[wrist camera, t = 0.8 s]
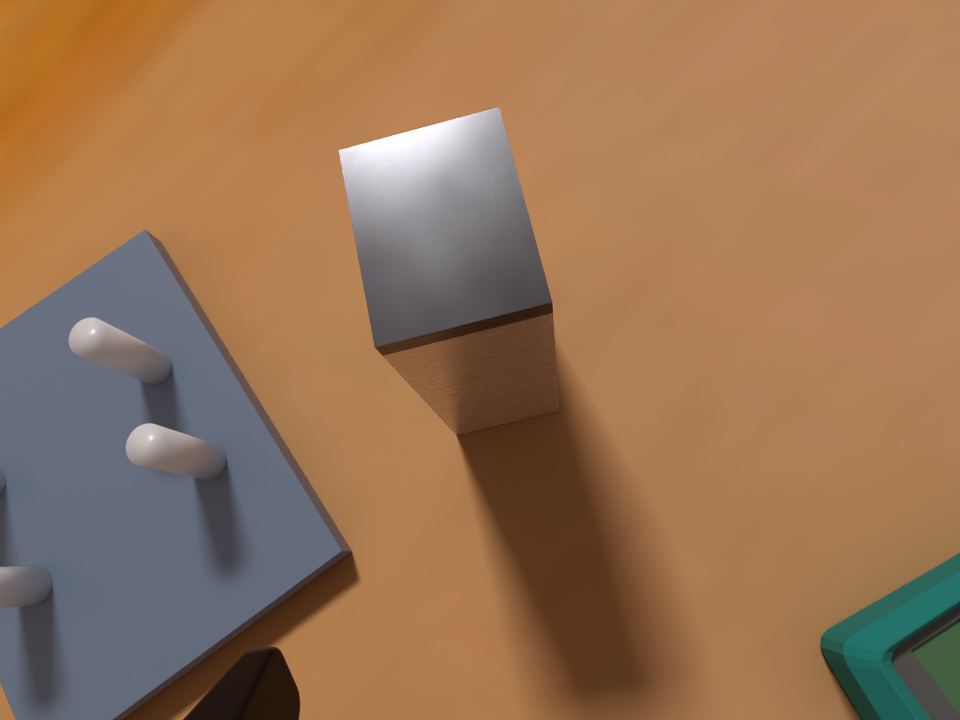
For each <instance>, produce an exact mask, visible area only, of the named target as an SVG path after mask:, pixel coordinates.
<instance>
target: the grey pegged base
mask: <svg viewBox="0 0 960 720" xmlns="http://www.w3.org/2000/svg"><path fill="white" fill-rule="evenodd" d="M350 552H351V549H350V548H349V546H348V545H347V543H346V541H345V540H344V538H343V536H342V535H341V533H340V532H339V530H338V528H337V527H336V525H335V523H334V522H333V520H332V519H331V517H330V515H329V514H328V512H327V510H326V509H325V507H324V506H323V504H322V502H321V501H320V499H319V498H318V496H317V494H316V493H315V491H314V489H313V488H312V486H311V485H310V483H309V481H308V480H307V478H306V476H305V475H304V473H303V472H302V470H301V468H300V467H299V465H298V463H297V462H296V460H295V459H294V457H293V455H292V454H291V452H290V451H289V449H288V447H287V446H286V444H285V442H284V441H283V439H282V438H281V436H280V434H279V433H278V431H277V429H276V428H275V426H274V425H273V423H272V421H271V420H270V418H269V416H268V415H267V413H266V412H265V410H264V408H263V407H262V405H261V404H260V402H259V400H258V399H257V397H256V395H255V394H254V392H253V391H252V389H251V387H250V386H249V384H248V382H247V381H246V379H245V378H244V376H243V374H242V373H241V371H240V369H239V368H238V366H237V365H236V363H235V361H234V360H233V358H232V357H231V355H230V353H229V352H228V350H227V348H226V347H225V345H224V344H223V342H222V340H221V339H220V337H219V335H218V334H217V332H216V331H215V329H214V327H213V326H212V324H211V322H210V321H209V319H208V318H207V316H206V314H205V313H204V311H203V310H202V308H201V306H200V305H199V303H198V301H197V300H196V298H195V297H194V295H193V293H192V292H191V290H190V288H189V287H188V285H187V284H186V282H185V280H184V279H183V277H182V275H181V274H180V272H179V271H178V269H177V267H176V266H175V264H174V263H173V261H172V259H171V258H170V256H169V254H168V253H167V251H166V250H165V248H164V246H163V245H162V243H161V241H159V240H158V239H157V238H155V237H154V236H153V235H152V234H150V233H149V232H148V231H146V230H144V231H142V232H141V233H139V234H138V235H136V236H135V237H133V238H132V239H131V240H129V241H128V242H126V243H125V244H123V245H122V246H120V247H119V248H117V249H116V250H114V251H113V252H111V253H110V254H109V255H107V256H106V257H104V258H103V259H101V260H100V261H98V262H97V263H95V264H94V265H92V266H91V267H90V268H88V269H87V270H85V271H84V272H82V273H81V274H79V275H78V276H76V277H75V278H73V279H72V280H70V281H69V282H68V283H66V284H65V285H63V286H62V287H60V288H59V289H57V290H56V291H54V292H53V293H51V294H50V295H49V296H47V297H46V298H44V299H43V300H41V301H40V302H38V303H37V304H35V305H34V306H32V307H31V308H30V309H28V310H27V311H25V312H24V313H22V314H21V315H19V316H18V317H16V318H15V319H13V320H12V321H10V322H9V323H8V324H6V325H5V326H3V327H2V328H0V682H1V685H2V687H3V690H4V692H5V695H6V697H7V700H8V702H9V704H10V707H11V709H12V712H13V714H14V717H15V719H16V720H123V719H124V718H126V717H127V716H128V715H130V714H131V713H132V712H134V711H135V710H137V709H138V708H139V707H141V706H142V705H143V704H145V703H146V702H147V701H149V700H150V699H151V698H153V697H154V696H156V695H157V694H158V693H160V692H161V691H162V690H164V689H165V688H166V687H168V686H169V685H171V684H172V683H173V682H175V681H176V680H177V679H179V678H180V677H181V676H183V675H184V674H185V673H187V672H188V671H190V670H191V669H192V668H194V667H195V666H196V665H198V664H199V663H200V662H202V661H203V660H204V659H206V658H207V657H209V656H210V655H211V654H213V653H214V652H215V651H217V650H218V649H219V648H221V647H222V646H223V645H225V644H226V643H228V642H229V641H230V640H232V639H233V638H234V637H236V636H237V635H238V634H240V633H241V632H243V631H244V630H245V629H247V628H248V627H249V626H251V625H252V624H253V623H255V622H256V621H257V620H259V619H260V618H262V617H263V616H264V615H266V614H267V613H268V612H270V611H271V610H272V609H274V608H275V607H276V606H278V605H279V604H281V603H282V602H283V601H285V600H286V599H287V598H289V597H290V596H291V595H293V594H294V593H295V592H297V591H298V590H300V589H301V588H302V587H304V586H305V585H306V584H308V583H309V582H310V581H312V580H313V579H314V578H316V577H317V576H319V575H320V574H321V573H323V572H324V571H325V570H327V569H328V568H329V567H331V566H332V565H334V564H335V563H336V562H338V561H339V560H340V559H342V558H343V557H344V556H346V555H347V554H348V553H350Z"/></svg>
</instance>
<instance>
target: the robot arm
mask: <svg viewBox="0 0 960 720" xmlns="http://www.w3.org/2000/svg"><path fill="white" fill-rule="evenodd" d="M299 713H300V697H299V692H298V688H297V686H296V683H295V681H294V679H293V677H292V674H291V672H290V670H289V668H288V665H287V663H286V661H285V658H284V656H283V654H282V652H281V651H280V650H279V649H278V648H277V647H267V648H261V649H255V650H250V651H247V652H246V653H244V654H243V655H242V656H241V657H240V658H239V659H238V660H237V661H236V662H235V664H234V665H233V666H232V667H231V668H230V669H229V670H228V671H227V672H226V673H225V674H224V676H223V677H222V678H221V679H220V680H219V681H218V682H217V683H216V684H215V685H214V686H213V688H212V689H211V690H210V691H209V692H208V693H207V694H206V695H205V696H204V697H203V698H202V700H201V701H200V702H199V703H198V704H197V705H196V706H195V707H194V708H193V709H192V710H191V712H190V713H189V714H188V715H187V716H186V717H185V718H184V719H183V720H299Z"/></svg>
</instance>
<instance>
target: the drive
mask: <svg viewBox="0 0 960 720" xmlns="http://www.w3.org/2000/svg"><path fill="white" fill-rule="evenodd" d="M339 154H340V160H341V165H342V171H343V176H344V182H345V187H346V193H347V198H348V204H349V209H350V215H351V220H352V225H353V231H354V236H355V242H356V247H357V253H358V258H359V264H360V269H361V275H362V280H363V286H364V291H365V296H366V302H367V307H368V313H369V318H370V324H371V329H372V335H373V340H374V346H375V348H376V349H377V350H378V351H379V352H380V353H381V354H382V356H383V357H384V358H385V359H386V360H387V361H388V362H389V363H390V364H391V365H392V366H393V367H394V368H395V370H396V371H397V372H398V373H399V374H400V375H401V376H402V377H403V378H404V379H405V380H406V381H407V382H408V384H409V385H410V386H411V387H412V388H413V389H414V390H415V391H416V392H417V393H418V394H419V395H420V397H421V398H422V399H423V400H424V401H425V402H426V403H427V404H428V405H429V406H430V407H431V408H432V409H433V411H434V412H435V413H436V414H437V415H438V416H439V417H440V418H441V419H442V420H443V421H444V422H445V424H446V425H447V426H448V427H449V428H450V429H451V430H452V431H453V432H454V433H455V434H456V435H461V434H465V433H469V432H473V431H477V430H481V429H485V428H489V427H493V426H498V425H502V424H506V423H510V422H514V421H518V420H522V419H526V418H530V417H535V416H539V415H543V414H547V413H551V412H555V411H559V410H560V408H559V394H558V379H557V365H556V350H555V336H554V321H553V307H552V300H551V296H550V292H549V289H548V285H547V281H546V278H545V274H544V270H543V267H542V263H541V259H540V256H539V252H538V248H537V244H536V241H535V237H534V233H533V230H532V226H531V222H530V219H529V215H528V211H527V208H526V204H525V200H524V197H523V193H522V189H521V185H520V182H519V178H518V174H517V171H516V167H515V163H514V160H513V156H512V152H511V149H510V145H509V141H508V138H507V134H506V130H505V127H504V123H503V119H502V115H501V112H500V108H499V107H498V108H494V109H490V110H486V111H483V112H479V113H475V114H472V115H468V116H464V117H461V118H457V119H453V120H450V121H446V122H442V123H438V124H435V125H431V126H427V127H424V128H420V129H416V130H413V131H409V132H405V133H402V134H398V135H394V136H390V137H387V138H383V139H379V140H376V141H372V142H368V143H365V144H361V145H357V146H354V147H350V148H346V149H342V150H339Z"/></svg>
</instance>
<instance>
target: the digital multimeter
mask: <svg viewBox="0 0 960 720" xmlns="http://www.w3.org/2000/svg"><path fill="white" fill-rule="evenodd" d="M820 647H821V650H822V652H823V655H824V657H825V659H826V660H827V662H828V664H829V665H830V667H831V669H832V670H833V672H834V674H835V676H836V677H837V679H838V681H839V682H840V684H841V686H842V687H843V689H844V691H845V692H846V694H847V696H848V697H849V699H850V701H851V702H852V704H853V705H854V707H855V709H856V710H857V712H858V713H859V715H860V717H861V718H862V720H960V553H958V554H957V555H955V556H954V557H952V558H951V559H949V560H947V561H946V562H944V563H942V564H941V565H939V566H937V567H935V568H934V569H932V570H930V571H928V572H927V573H925V574H923V575H921V576H920V577H918V578H916V579H915V580H913V581H911V582H909V583H908V584H906V585H904V586H902V587H901V588H899V589H897V590H895V591H894V592H892V593H890V594H888V595H887V596H885V597H883V598H882V599H880V600H878V601H876V602H875V603H873V604H871V605H869V606H868V607H866V608H864V609H862V610H861V611H859V612H857V613H856V614H854V615H852V616H850V617H849V618H847V619H845V620H843V621H842V622H840V623H838V624H836V625H835V626H833V627H831V628H830V629H828V630H827V631H826V632H825V633H824V634H823V636H822V637H821V645H820Z"/></svg>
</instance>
